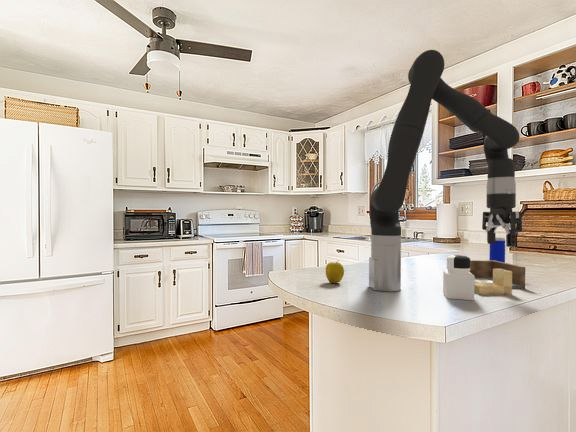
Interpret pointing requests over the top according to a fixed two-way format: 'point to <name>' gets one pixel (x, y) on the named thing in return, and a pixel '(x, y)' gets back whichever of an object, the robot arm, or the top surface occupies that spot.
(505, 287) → the brass bracket
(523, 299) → the top surface
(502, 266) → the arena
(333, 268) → the apple
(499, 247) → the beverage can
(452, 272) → the medicine bottle
